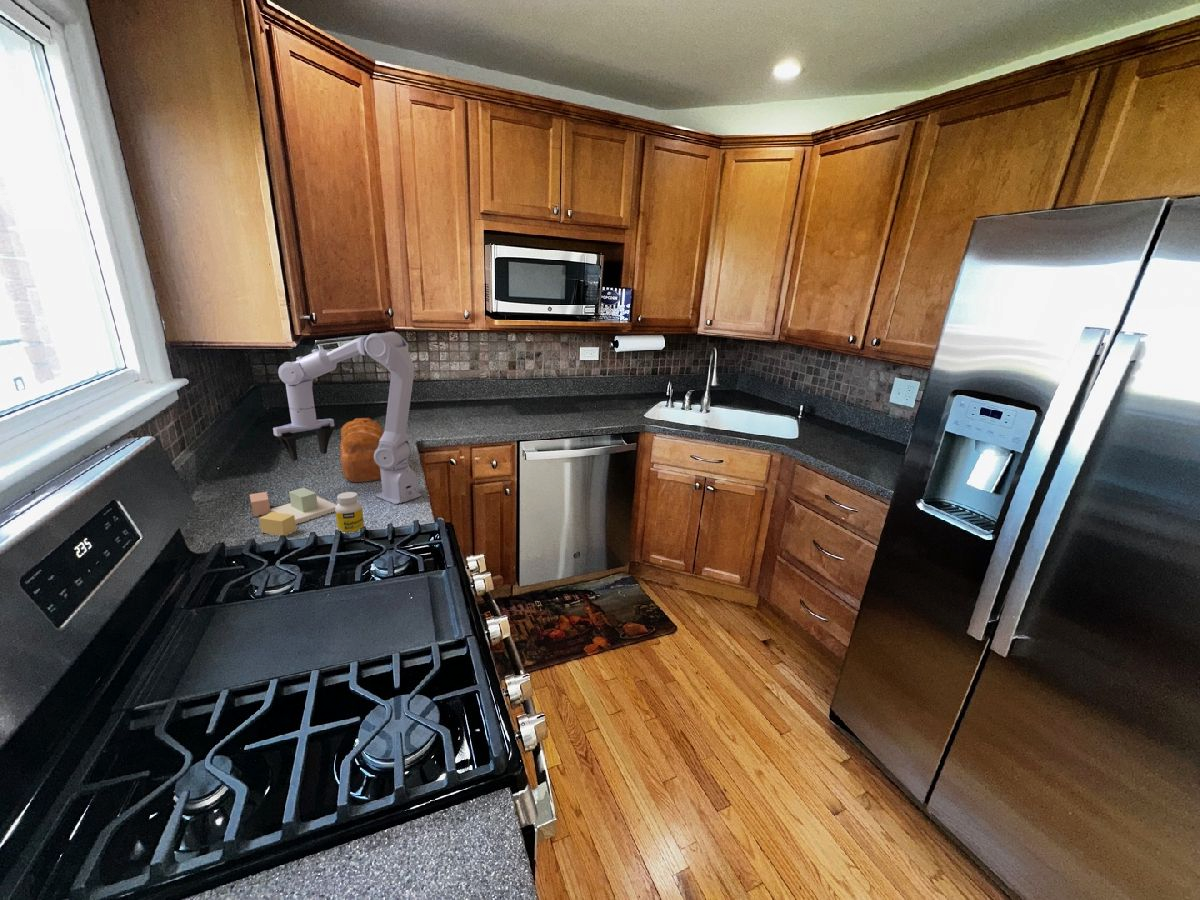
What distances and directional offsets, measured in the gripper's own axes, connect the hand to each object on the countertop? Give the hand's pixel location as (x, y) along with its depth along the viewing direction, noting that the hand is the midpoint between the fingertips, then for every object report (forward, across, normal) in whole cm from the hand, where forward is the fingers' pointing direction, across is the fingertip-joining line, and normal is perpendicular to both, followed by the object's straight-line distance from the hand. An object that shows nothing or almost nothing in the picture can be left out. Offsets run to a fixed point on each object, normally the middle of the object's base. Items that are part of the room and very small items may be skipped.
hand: (309, 456), depth 128 cm
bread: (+11, -20, -7) cm, 24 cm away
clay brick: (+11, +14, +3) cm, 18 cm away
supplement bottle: (+11, +8, +32) cm, 35 cm away
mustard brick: (+11, +17, +18) cm, 27 cm away
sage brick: (+9, +8, +11) cm, 17 cm away
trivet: (+10, +8, +12) cm, 17 cm away
